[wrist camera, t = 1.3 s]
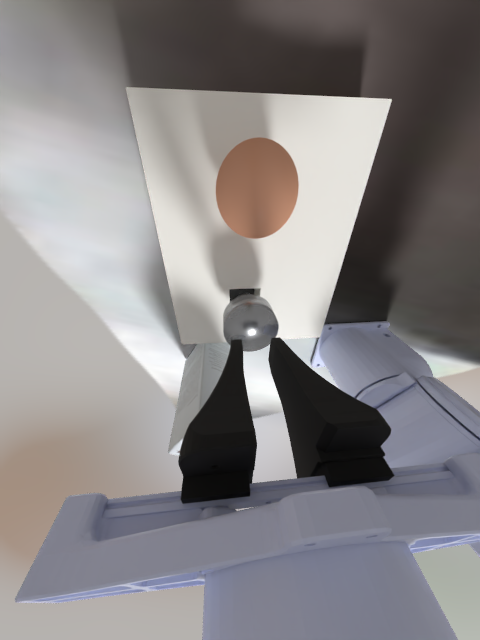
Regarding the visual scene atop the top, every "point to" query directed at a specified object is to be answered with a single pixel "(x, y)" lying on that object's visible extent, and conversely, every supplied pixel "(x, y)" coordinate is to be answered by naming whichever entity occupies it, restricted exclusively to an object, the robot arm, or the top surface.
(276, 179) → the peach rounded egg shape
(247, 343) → the plug
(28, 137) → the top surface
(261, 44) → the top surface
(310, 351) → the top surface
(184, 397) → the skincare box
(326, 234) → the panel
